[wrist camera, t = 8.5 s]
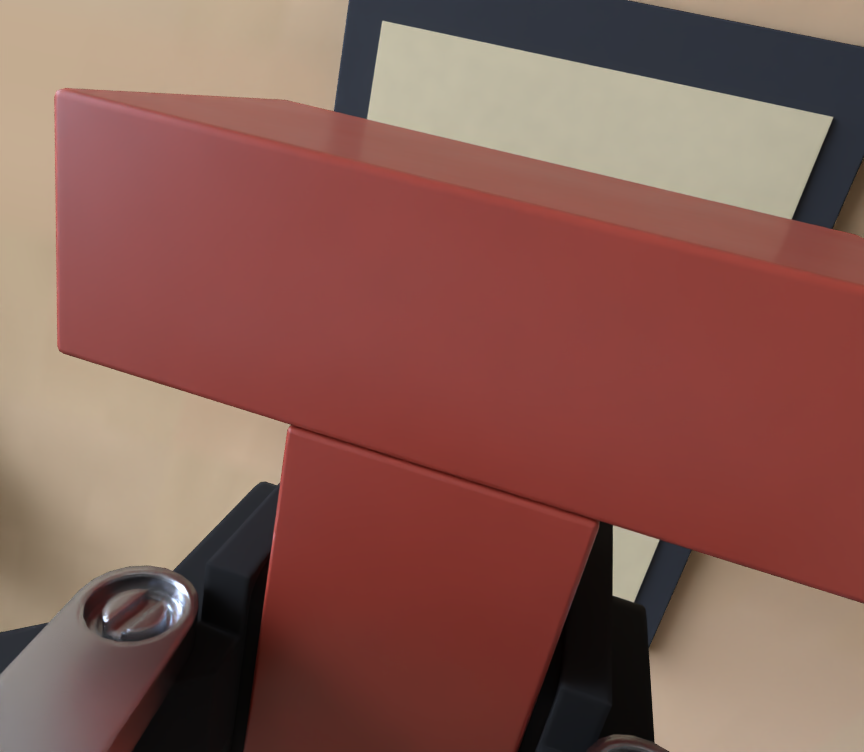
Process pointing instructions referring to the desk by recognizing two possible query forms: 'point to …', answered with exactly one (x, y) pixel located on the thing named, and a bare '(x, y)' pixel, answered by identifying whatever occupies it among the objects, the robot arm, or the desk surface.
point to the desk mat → (621, 121)
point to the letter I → (460, 386)
